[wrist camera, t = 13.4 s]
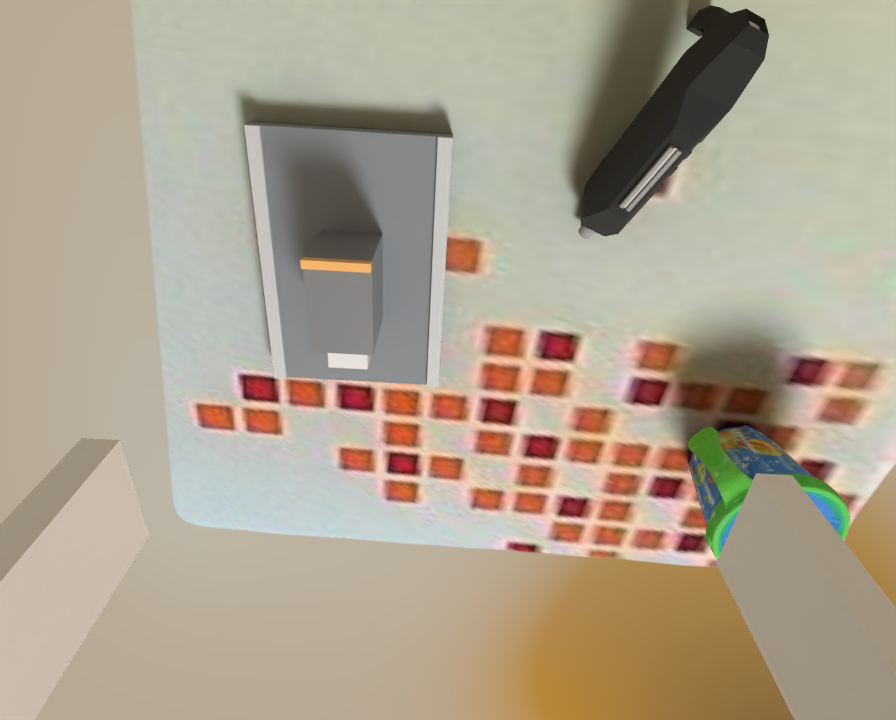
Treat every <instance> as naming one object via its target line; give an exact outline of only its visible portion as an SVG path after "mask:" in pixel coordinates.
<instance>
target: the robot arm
mask: <svg viewBox="0 0 896 720" xmlns="http://www.w3.org/2000/svg"><path fill="white" fill-rule="evenodd" d="M148 536H149V534H148V531H147V528H146V525H145V521H144V518H143V515H142V511H141V508H140V505H139V502H138V498H137V495H136V492H135V488H134V485H133V482H132V479H131V476H130V472H129V469H128V466H127V462H126V459H125V456H124V453H123V449H122V446H121V443H120V440H105V439H85V438H82V439H81V440H80V441H79V442H78V443H77V444H76V445H75V446H74V447H73V448H72V449H71V450H70V451H69V452H68V453H67V455H66V456H65V457H64V458H63V459H62V460H61V461H60V462H59V463H58V464H57V465H56V466H55V467H54V468H53V469H52V470H51V471H50V473H49V474H48V475H47V476H46V477H45V478H44V479H43V480H42V481H41V482H40V483H39V484H38V485H37V486H36V487H35V488H34V490H33V491H32V492H31V493H30V494H29V495H28V496H27V497H26V498H25V499H24V500H23V501H22V502H21V503H20V504H19V505H18V506H17V507H16V509H15V510H14V511H13V512H12V513H11V514H10V515H9V516H8V517H7V518H6V519H5V520H4V521H3V522H2V523H1V524H0V720H35V718H36V716H37V715H38V713H39V711H40V710H41V708H42V707H43V705H44V704H45V702H46V700H47V699H48V697H49V695H50V694H51V692H52V691H53V689H54V687H55V686H56V684H57V683H58V681H59V679H60V678H61V676H62V675H63V673H64V671H65V670H66V668H67V666H68V665H69V663H70V662H71V660H72V658H73V657H74V655H75V654H76V652H77V650H78V649H79V647H80V646H81V644H82V642H83V641H84V639H85V638H86V636H87V634H88V633H89V631H90V630H91V628H92V626H93V625H94V623H95V621H96V620H97V618H98V617H99V615H100V613H101V612H102V610H103V609H104V607H105V605H106V604H107V602H108V601H109V599H110V597H111V596H112V594H113V592H114V591H115V589H116V588H117V586H118V584H119V583H120V581H121V580H122V578H123V576H124V575H125V573H126V571H127V570H128V568H129V567H130V565H131V564H132V562H133V560H134V559H135V557H136V555H137V554H138V552H139V551H140V549H141V547H142V546H143V544H144V543H145V541H146V539H147V538H148ZM716 564H717V566H718V568H719V570H720V572H721V574H722V576H723V578H724V580H725V582H726V584H727V586H728V588H729V590H730V592H731V594H732V596H733V598H734V600H735V601H736V604H737V606H738V608H739V610H740V612H741V614H742V616H743V618H744V620H745V622H746V624H747V626H748V628H749V630H750V632H751V634H752V636H753V638H754V640H755V642H756V644H757V646H758V647H759V650H760V652H761V654H762V656H763V658H764V660H765V662H766V663H767V666H768V668H769V670H770V672H771V674H772V676H773V678H774V680H775V682H776V684H777V686H778V688H779V690H780V692H781V694H782V696H783V698H784V700H785V702H786V704H787V706H788V708H789V709H790V712H791V714H792V716H793V718H794V720H896V608H895V606H894V605H893V604H892V603H891V601H890V600H889V599H888V597H887V596H886V595H885V594H884V592H883V591H882V590H881V588H880V587H879V586H878V585H877V583H876V582H875V581H874V580H873V578H872V577H871V576H870V574H869V573H868V572H867V570H866V569H865V568H864V567H863V565H862V564H861V563H860V562H859V560H858V559H857V558H856V556H855V555H854V554H853V553H852V551H851V550H850V549H849V547H848V546H847V545H846V544H845V542H844V541H843V540H842V538H841V537H840V536H839V535H838V533H837V532H836V531H835V529H834V528H833V527H832V526H831V524H830V523H829V522H828V520H827V519H826V518H825V517H824V515H823V514H822V513H821V511H820V510H819V509H818V508H817V506H816V505H815V504H814V502H813V501H812V500H811V499H810V497H809V496H808V495H807V493H806V492H805V491H804V490H803V488H802V487H801V486H800V484H799V483H798V482H797V481H796V479H795V478H794V477H793V475H779V474H759V473H756V474H755V477H754V479H753V481H752V484H751V486H750V488H749V490H748V493H747V495H746V497H745V499H744V502H743V504H742V506H741V508H740V511H739V513H738V515H737V517H736V520H735V522H734V524H733V526H732V529H731V531H730V533H729V535H728V538H727V540H726V542H725V544H724V547H723V549H722V551H721V553H720V556H719V558H718V560H717V562H716Z"/></svg>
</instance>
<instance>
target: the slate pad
mask: <svg viewBox="0 0 896 720" xmlns="http://www.w3.org/2000/svg"><path fill="white" fill-rule="evenodd" d="M244 128H245V137H246V145H247V153H248V162H249V170H250V178H251V187H252V195H253V204H254V212H255V220H256V229H257V237H258V245H259V254H260V262H261V270H262V279H263V287H264V296H265V304H266V312H267V321H268V329H269V337H270V346H271V354H272V363H273V371H274V378H282V379H286V378H287V377H298V378H317V379H335V380H353V381H372V382H390V383H409V384H427V386H429V387H438V385H439V368H440V351H441V333H442V316H443V298H444V281H445V264H446V246H447V229H448V211H449V194H450V177H451V159H452V142H453V134H439V133H423V132H407V131H391V130H376V129H360V128H344V127H328V126H312V125H296V124H280V123H264V122H251V123H248V124H246V125H244ZM321 230H332V231H349V232H366V233H383V320H382V323H381V327H380V331H379V335H378V339H377V342H376V346H375V350H374V354H373V355H370V362H369V366H368V369H350V368H332V367H328V353H320V352H310V351H309V339H308V326H307V314H306V301H305V288H304V276H303V269H301V265H300V260H301V258H302V257H303V255H304V254H305V252H306V251H307V250H308V248H309V247H310V245H311V244H312V243H313V241H314V240H315V238H316V237H317V236H318V234H319V233H320V231H321Z"/></svg>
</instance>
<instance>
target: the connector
mask: <svg viewBox="0 0 896 720" xmlns="http://www.w3.org/2000/svg"><path fill="white" fill-rule="evenodd" d="M300 265H301V269H303V276H304V288H305V301H306V314H307V326H308V339H309V351H310V352H320V353H328V367H332V368H350V369H368V366H369V362H370V355H373V354H374V350H375V346H376V342H377V339H378V335H379V331H380V327H381V323H382V320H383V233H366V232H349V231H332V230H321V231H320V233H319V234H318V236H317V237H316V238H315V240H314V241H313V243H312V244H311V245H310V247H309V248H308V250H307V251H306V252H305V254H304V255H303V257H302V258H301V260H300Z"/></svg>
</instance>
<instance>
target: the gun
mask: <svg viewBox="0 0 896 720" xmlns="http://www.w3.org/2000/svg"><path fill="white" fill-rule="evenodd" d="M687 30H689V31H690V32H692V33H694V34H696V35H698V36H699V37H700V36H702V37H701V38H700V39H699V40H698V41H697V42H696V43H695V44H694V45H692V46H691V47H690V48H689V49H688V50H687V51H686V52H685V53H684V54H683V56H682V57H681V58H680V60H679V61H678V62H677V64H676V65H675V66H674V68H673V69H672V70H671V72H670V73H669V74H668V76H667V77H666V78H665V80H664V81H663V82H662V84H661V85H660V86H659V88H658V89H657V90H656V91H655V93H654V94H653V95H652V97H651V98H650V99H649V101H648V102H647V103H646V105H645V106H644V107H643V109H642V110H641V111H640V113H639V114H638V115H637V117H636V118H635V119H634V121H633V122H632V123H631V125H630V126H629V127H628V129H627V130H626V131H625V133H624V134H623V135H622V137H621V138H620V139H619V141H618V142H617V143H616V145H615V146H614V147H613V149H612V150H611V151H610V153H609V154H608V155H607V157H606V158H605V159H604V161H603V162H602V163H601V165H600V166H599V167H598V169H597V170H596V171H595V173H594V174H593V175H592V177H591V178H590V179H589V181H588V182H587V184H586V187H585V193H584V198H583V206H582V217H581V227H580V229H579V234H580V235H581V236H582V237H583V238H586V239H588V238H590V237H591V236H592V235H593V234H594V233H595V232H597V233H599V234H601V235H603V236H609V235H614V234H618V233H619V232H620V231H621V230H622V229H623V228H624V227H625V226H626V224H627V223H628V222H629V221H630V220H631V219H632V218H633V217H634V216H635V214H636V213H637V212H638V211H639V210H640V209H641V208H642V207H643V206H644V205H645V203H646V202H647V201H648V200H649V199H650V198H651V197H652V196H653V195H654V194H655V192H656V191H657V190H658V189H659V188H660V187H661V186H662V185H663V182H664V181H665V179H666V178H667V177H669V176H671V175H672V174H673V173H674V171H675V170H676V169H677V166H678V165H679V164H680V163H681V162H682V161H683V160H684V159H686V158H687V157H688V156H689V155H690V154H691V153H692V150H693V148H694V147H695V146H696V145H697V144H698V143H700V142H702V141H703V139H704V138H705V137H706V136H707V135H708V134H709V133H710V132H711V131H712V130H713V128H714V127H715V126H716V125H717V124H718V123H719V122H720V121H721V120H722V119H723V117H724V116H725V115H726V114H727V113H728V112H729V111H730V110H731V109H732V107H733V106H734V104H735V103H736V101H737V100H738V98H739V97H740V95H741V94H742V92H743V91H744V89H745V88H746V86H747V85H748V83H749V82H750V80H751V79H752V77H753V76H754V74H755V73H756V71H757V70H758V68H759V67H760V65H761V64H762V62H763V61H764V59H765V54H766V48H767V43H768V38H769V34H768V30H767V26H766V23H765V19H763V18H761V17H760V16H758V15H756V14H754V13H753V12H751V11H749V10H748V9H744V10H740V11H737V12H734V13H729V12H728V11H726V10H724V9H722V8H720V7H715V6H711V5H710V6H708V7H706V8H704V9H702V10H700V11H699V12H698V13H697V14H696V16H695V17H694V18H693V20H692V21H691V23H690V24H689V26H688V27H687Z"/></svg>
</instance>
